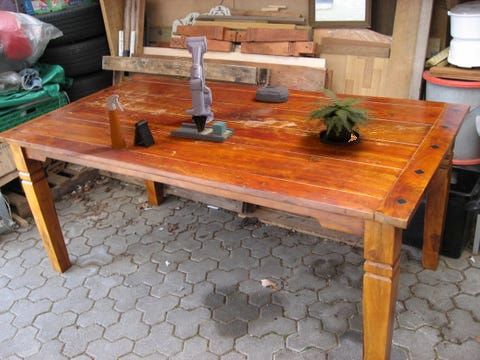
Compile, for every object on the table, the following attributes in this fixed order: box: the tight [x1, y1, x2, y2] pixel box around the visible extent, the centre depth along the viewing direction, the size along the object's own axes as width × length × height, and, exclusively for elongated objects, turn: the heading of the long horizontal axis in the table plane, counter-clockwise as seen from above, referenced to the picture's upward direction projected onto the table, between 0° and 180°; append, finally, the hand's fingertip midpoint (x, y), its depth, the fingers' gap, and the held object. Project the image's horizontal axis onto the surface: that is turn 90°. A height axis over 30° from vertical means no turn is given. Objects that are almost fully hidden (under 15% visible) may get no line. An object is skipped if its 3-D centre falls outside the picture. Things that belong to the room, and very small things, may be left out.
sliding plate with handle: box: [196, 122, 233, 139], centre depth 223 cm, size 17×9×5 cm, turn 64°
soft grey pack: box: [255, 84, 291, 104], centre depth 269 cm, size 15×8×20 cm
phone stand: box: [133, 118, 156, 149], centre depth 217 cm, size 9×6×12 cm, turn 59°
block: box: [211, 120, 227, 135], centre depth 221 cm, size 5×5×5 cm
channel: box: [170, 122, 235, 143], centre depth 226 cm, size 30×12×2 cm, turn 65°
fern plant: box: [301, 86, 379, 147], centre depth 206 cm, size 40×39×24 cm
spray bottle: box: [104, 94, 128, 150], centre depth 213 cm, size 7×11×26 cm, turn 58°
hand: (201, 129), depth 226 cm, fingers closed on sliding plate with handle, 2 cm apart
